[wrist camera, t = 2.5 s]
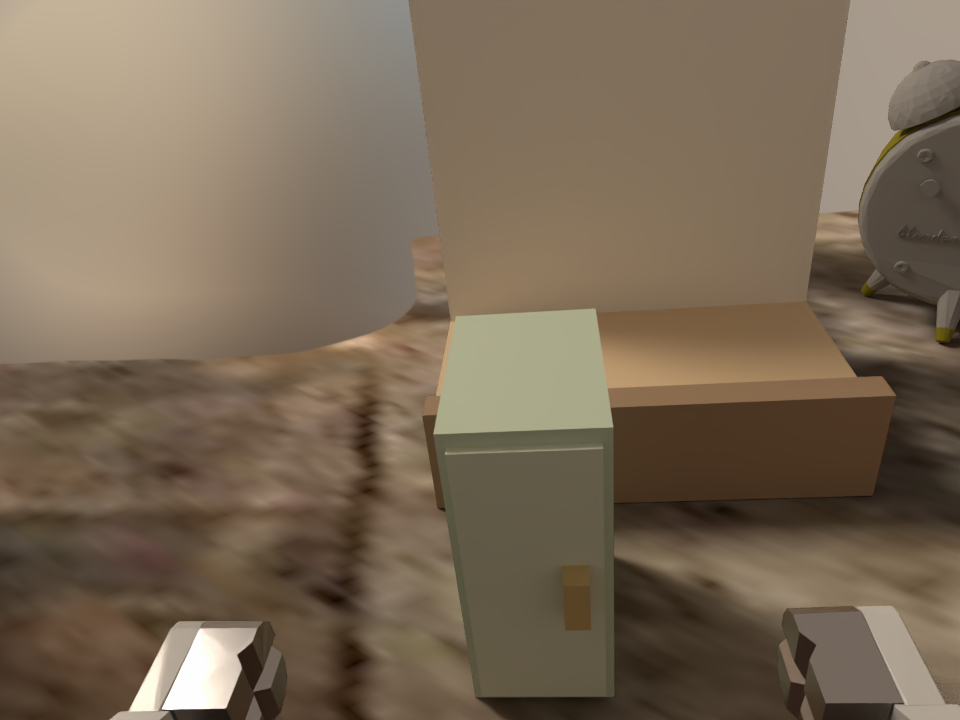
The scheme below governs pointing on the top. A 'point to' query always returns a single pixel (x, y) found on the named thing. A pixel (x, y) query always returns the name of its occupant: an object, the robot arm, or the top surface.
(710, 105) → the wall board
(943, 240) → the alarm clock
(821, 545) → the top surface
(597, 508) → the cabinet
